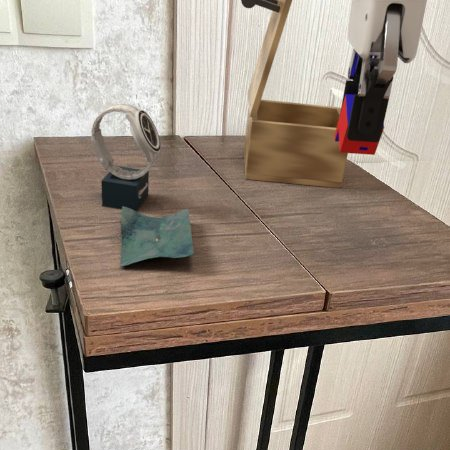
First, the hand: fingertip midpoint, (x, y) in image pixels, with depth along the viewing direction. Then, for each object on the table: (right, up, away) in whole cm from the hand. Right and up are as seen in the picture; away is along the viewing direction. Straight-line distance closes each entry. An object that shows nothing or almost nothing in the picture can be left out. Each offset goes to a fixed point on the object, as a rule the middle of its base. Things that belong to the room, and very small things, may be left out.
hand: (358, 130), depth 63 cm
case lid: (-7, +19, +20) cm, 29 cm away
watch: (-26, -2, +16) cm, 30 cm away
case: (-4, +7, +30) cm, 31 cm away
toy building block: (0, -1, +2) cm, 2 cm away
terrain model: (-21, -10, +8) cm, 24 cm away
